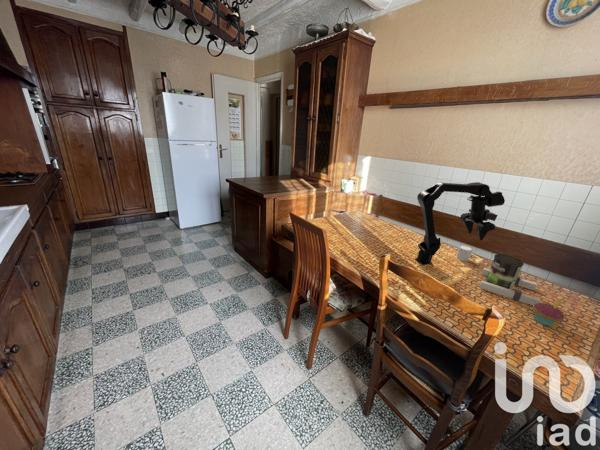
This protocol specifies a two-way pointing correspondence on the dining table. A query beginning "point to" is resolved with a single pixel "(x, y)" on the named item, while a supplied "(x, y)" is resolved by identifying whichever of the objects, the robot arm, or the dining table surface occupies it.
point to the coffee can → (504, 271)
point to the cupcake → (548, 313)
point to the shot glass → (464, 253)
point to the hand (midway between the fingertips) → (475, 236)
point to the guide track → (509, 293)
